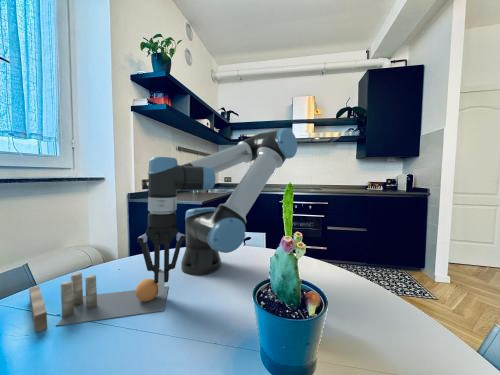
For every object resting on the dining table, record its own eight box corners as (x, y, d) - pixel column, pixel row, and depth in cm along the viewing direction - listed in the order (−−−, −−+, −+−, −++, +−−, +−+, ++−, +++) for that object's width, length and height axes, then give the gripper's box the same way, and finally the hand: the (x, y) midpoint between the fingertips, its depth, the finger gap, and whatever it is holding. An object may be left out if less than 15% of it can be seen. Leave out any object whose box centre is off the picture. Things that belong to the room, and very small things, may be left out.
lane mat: (168, 286, 72) (168, 286, 72) (163, 311, 59) (163, 310, 59) (81, 296, 65) (81, 296, 65) (55, 326, 53) (55, 325, 53)
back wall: (29, 301, 63) (29, 287, 63) (39, 298, 64) (38, 285, 64) (35, 332, 51) (34, 315, 50) (47, 328, 52) (46, 311, 52)
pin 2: (84, 301, 63) (83, 272, 63) (80, 306, 61) (79, 275, 60) (74, 302, 63) (73, 273, 62) (70, 307, 60) (69, 276, 60)
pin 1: (76, 311, 58) (74, 280, 58) (71, 317, 56) (69, 284, 56) (65, 313, 58) (63, 281, 57) (60, 319, 55) (58, 286, 55)
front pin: (98, 304, 62) (97, 274, 61) (95, 309, 60) (93, 278, 59) (88, 305, 61) (87, 275, 61) (84, 310, 59) (83, 279, 58)
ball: (160, 293, 68) (159, 274, 67) (157, 304, 62) (157, 283, 62) (138, 295, 66) (138, 276, 66) (133, 307, 60) (133, 286, 60)
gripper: (134, 214, 58) (133, 303, 59) (186, 213, 62) (185, 297, 63) (139, 210, 65) (139, 289, 66) (186, 209, 69) (184, 284, 70)
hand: (161, 292), depth 64 cm, fingers closed
